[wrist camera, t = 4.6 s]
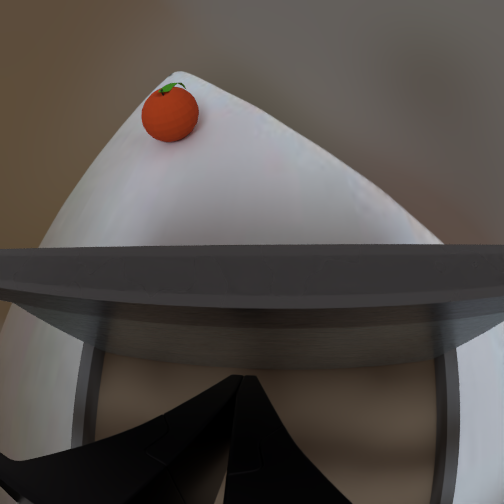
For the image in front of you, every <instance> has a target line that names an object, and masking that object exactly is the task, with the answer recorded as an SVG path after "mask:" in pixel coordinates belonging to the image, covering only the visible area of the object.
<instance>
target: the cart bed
mask: <svg viewBox="0 0 504 504" xmlns="http://www.w3.org/2000/svg"><path fill="white" fill-rule="evenodd" d="M232 374H236V375H243V376H245V375H255V376H257V378H258V379H259V381H260V383H261V385H262V387H263V389H264V390H265V392H266V394H267V396H268V398H269V399H270V401H271V403H272V405H273V407H274V408H275V410H276V412H277V414H278V415H279V417H280V419H281V421H282V423H283V424H284V426H285V427H286V429H287V431H288V432H289V434H290V435H291V437H292V438H293V440H294V441H295V443H296V444H297V445H298V447H299V448H300V449H301V450H302V452H303V453H304V454H305V455H306V456H307V457H308V458H309V459H310V460H311V462H312V463H313V464H314V465H315V466H316V467H317V468H318V469H319V470H320V471H321V472H322V473H323V474H324V475H325V476H326V477H327V479H328V480H329V481H330V482H331V483H332V484H333V485H334V486H335V487H336V488H337V489H338V490H339V491H340V492H341V493H342V494H343V495H344V496H345V497H346V498H347V499H348V500H349V501H350V502H352V503H353V504H452V503H453V497H454V491H455V484H456V476H457V466H458V455H459V437H460V393H459V375H458V362H457V352H456V348H455V349H453V350H450V351H448V352H446V353H444V354H442V355H440V356H438V357H436V358H434V359H432V360H425V361H418V362H410V363H402V364H393V365H382V366H371V367H357V368H339V369H306V370H279V369H245V368H227V367H212V366H201V365H190V364H180V363H172V362H163V361H156V360H149V359H142V358H135V357H129V356H123V355H117V354H112V353H107V352H105V351H102V350H100V349H98V348H96V347H94V346H91V345H89V344H87V343H85V342H84V344H83V350H82V355H81V361H80V367H79V373H78V380H77V387H76V395H75V403H74V413H73V424H72V439H71V449H72V448H76V447H79V446H82V445H85V444H89V443H92V442H95V441H98V440H101V439H104V438H107V437H110V436H113V435H115V434H118V433H121V432H124V431H126V430H129V429H131V428H134V427H136V426H139V425H141V424H143V423H145V422H147V421H149V420H152V419H154V418H156V417H157V416H159V415H161V414H164V413H166V412H168V411H170V410H171V409H173V408H175V407H177V406H179V405H180V404H182V403H184V402H186V401H188V400H189V399H191V398H193V397H195V396H196V395H198V394H200V393H201V392H203V391H205V390H207V389H208V388H210V387H212V386H213V385H215V384H217V383H218V382H220V381H222V380H223V379H225V378H227V377H228V376H230V375H232ZM226 475H227V470H226V473H225V476H224V479H223V481H222V484H221V487H220V490H219V492H218V495H217V498H216V500H215V503H214V504H223V499H224V491H225V482H226Z"/></svg>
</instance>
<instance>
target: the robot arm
mask: <svg viewBox="0 0 504 504" xmlns="http://www.w3.org/2000/svg"><path fill="white" fill-rule="evenodd" d="M226 470H227V475H226V482H225V491H224V499H223V504H353V503H352V502H350V501H349V500H348V499H347V498H346V497H345V496H344V495H343V494H342V493H341V492H340V491H339V490H338V489H337V488H336V487H335V486H334V485H333V484H332V483H331V482H330V481H329V480H328V479H327V477H326V476H325V475H324V474H323V473H322V472H321V471H320V470H319V469H318V468H317V467H316V466H315V465H314V464H313V463H312V462H311V460H310V459H309V458H308V457H307V456H306V455H305V454H304V453H303V452H302V450H301V449H300V448H299V447H298V445H297V444H296V443H295V441H294V440H293V438H292V437H291V435H290V434H289V432H288V431H287V429H286V427H285V426H284V424H283V423H282V421H281V419H280V417H279V415H278V414H277V412H276V410H275V408H274V407H273V405H272V403H271V401H270V399H269V398H268V396H267V394H266V392H265V390H264V389H263V387H262V385H261V383H260V381H259V379H258V378H257V376H255V375H245V376H243V375H236V374H232V375H230V376H228V377H227V378H225V379H223V380H222V381H220V382H218V383H217V384H215V385H213V386H212V387H210V388H208V389H207V390H205V391H203V392H201V393H200V394H198V395H196V396H195V397H193V398H191V399H189V400H188V401H186V402H184V403H182V404H180V405H179V406H177V407H175V408H173V409H171V410H170V411H168V412H166V413H164V414H161V415H159V416H157V417H156V418H154V419H152V420H149V421H147V422H145V423H143V424H141V425H139V426H136V427H134V428H131V429H129V430H126V431H124V432H121V433H118V434H115V435H113V436H110V437H107V438H104V439H101V440H98V441H95V442H92V443H89V444H85V445H82V446H79V447H76V448H72V449H69V450H65V451H62V452H58V453H54V454H50V455H46V456H42V457H38V458H34V459H29V460H25V461H14V460H11V459H9V458H7V457H6V456H5V455H3V454H2V453H1V452H0V486H1V487H2V488H3V489H4V490H5V491H6V492H7V493H8V494H9V495H10V496H11V497H12V498H13V499H14V500H15V501H16V502H17V503H16V504H214V503H215V500H216V498H217V495H218V492H219V490H220V487H221V484H222V481H223V479H224V476H225V473H226Z"/></svg>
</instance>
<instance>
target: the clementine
mask: <svg viewBox="0 0 504 504" xmlns="http://www.w3.org/2000/svg"><path fill="white" fill-rule="evenodd" d="M176 84H177V83H170V84H168V85H166V86H164V87H162V88H161V89H159V90H157V91H155V92H154V93H152V94H151V95H150V97H149V98H148V99H147V100H146V102H145V104H144V106H143V109H142V123H143V126H144V128H145V129H146V131H147V132H148V134H149V135H151V136H152V137H153V138H155V139H157V140H160V141H164V142H172V141H177V140H180V139H182V138H184V137H185V136H187V135H188V134H189V133H190V132H191V131H192V130H193V128H194V127H195V125H196V123H197V120H198V115H199V110H198V105H197V103H196V100H195V98H194V97H193V96H192V95H191V94H190V93H189V92H188V91H186V90H184V89H182V88H179V87H173V86H175V85H176ZM178 84H180V85H182V86H183V87H184V88H185V86H184V84H182V83H178ZM185 89H186V88H185Z"/></svg>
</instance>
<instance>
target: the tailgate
mask: <svg viewBox="0 0 504 504" xmlns="http://www.w3.org/2000/svg"><path fill="white" fill-rule="evenodd" d="M0 300H3V301H8V302H12V303H14V304H16V305H18V306H19V307H21V308H22V309H24V310H26V311H27V312H29V313H31V314H32V315H34V316H36V317H38V318H39V319H41V320H43V321H45V322H47V323H48V324H50V325H52V326H54V327H56V328H58V329H59V330H61V331H63V332H65V333H67V334H69V335H71V336H73V337H75V338H77V339H79V340H81V341H83V342H85V343H87V344H89V345H91V346H94V347H96V348H98V349H100V350H102V351H105V352H107V353H112V354H117V355H123V356H129V357H135V358H142V359H149V360H156V361H163V362H172V363H180V364H190V365H201V366H212V367H227V368H245V369H279V370H306V369H339V368H357V367H371V366H382V365H393V364H402V363H410V362H418V361H425V360H432V359H434V358H436V357H438V356H440V355H442V354H444V353H446V352H448V351H450V350H453V349H455V348H456V347H458V346H460V345H462V344H464V343H466V342H468V341H470V340H472V339H474V338H475V337H477V336H479V335H481V334H483V333H484V332H486V331H488V330H490V329H491V328H493V327H495V326H496V325H498V324H500V323H501V322H503V321H504V245H440V244H339V245H204V246H131V247H76V248H30V249H0Z"/></svg>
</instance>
